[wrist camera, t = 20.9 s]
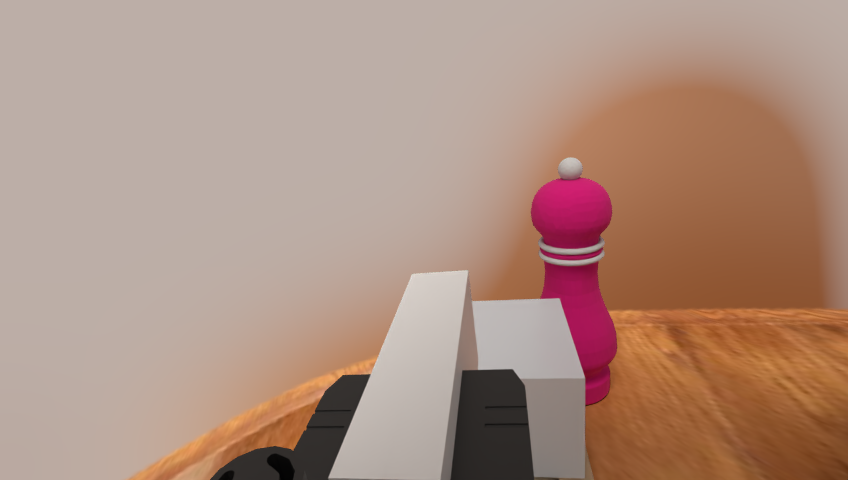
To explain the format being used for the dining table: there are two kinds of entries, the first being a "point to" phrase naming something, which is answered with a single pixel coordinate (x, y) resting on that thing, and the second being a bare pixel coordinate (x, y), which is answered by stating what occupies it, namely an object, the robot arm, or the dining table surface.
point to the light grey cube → (539, 376)
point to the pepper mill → (577, 267)
